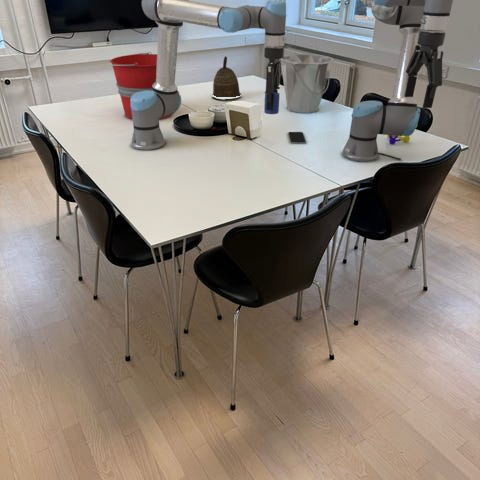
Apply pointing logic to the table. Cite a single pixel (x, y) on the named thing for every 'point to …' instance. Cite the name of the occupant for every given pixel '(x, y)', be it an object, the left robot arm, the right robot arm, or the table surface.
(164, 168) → the table surface
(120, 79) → the bucket
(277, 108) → the can
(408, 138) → the educational toy
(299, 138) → the smartphone
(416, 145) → the table surface
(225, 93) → the bell
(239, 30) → the left robot arm
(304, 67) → the bucket
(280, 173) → the table surface
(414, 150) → the table surface
